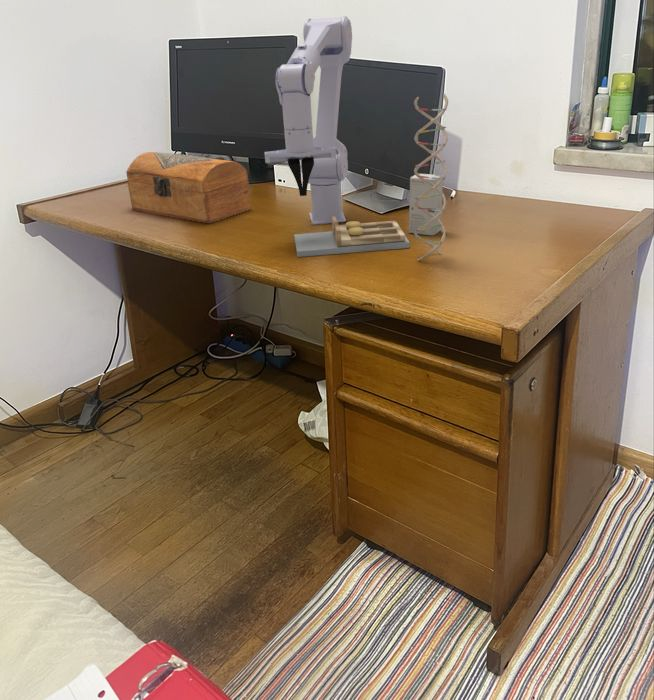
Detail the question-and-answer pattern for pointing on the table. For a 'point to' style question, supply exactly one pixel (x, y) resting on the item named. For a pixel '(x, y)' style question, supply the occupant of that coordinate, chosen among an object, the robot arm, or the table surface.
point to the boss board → (327, 244)
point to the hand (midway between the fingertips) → (303, 194)
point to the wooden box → (188, 186)
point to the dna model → (433, 154)
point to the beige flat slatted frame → (368, 233)
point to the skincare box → (424, 204)
